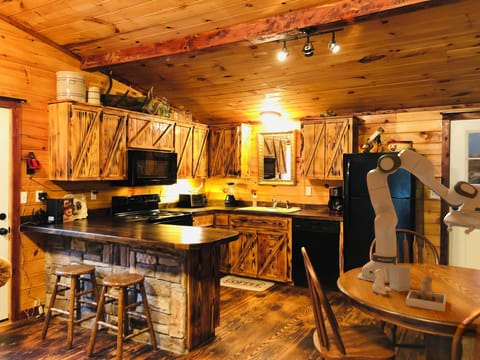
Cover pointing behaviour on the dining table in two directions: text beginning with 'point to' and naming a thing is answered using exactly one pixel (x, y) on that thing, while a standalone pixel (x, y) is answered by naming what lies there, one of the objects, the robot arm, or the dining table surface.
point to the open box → (426, 302)
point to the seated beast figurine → (379, 283)
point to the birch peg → (426, 288)
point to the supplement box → (400, 278)
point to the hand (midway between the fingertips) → (457, 232)
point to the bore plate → (434, 299)
